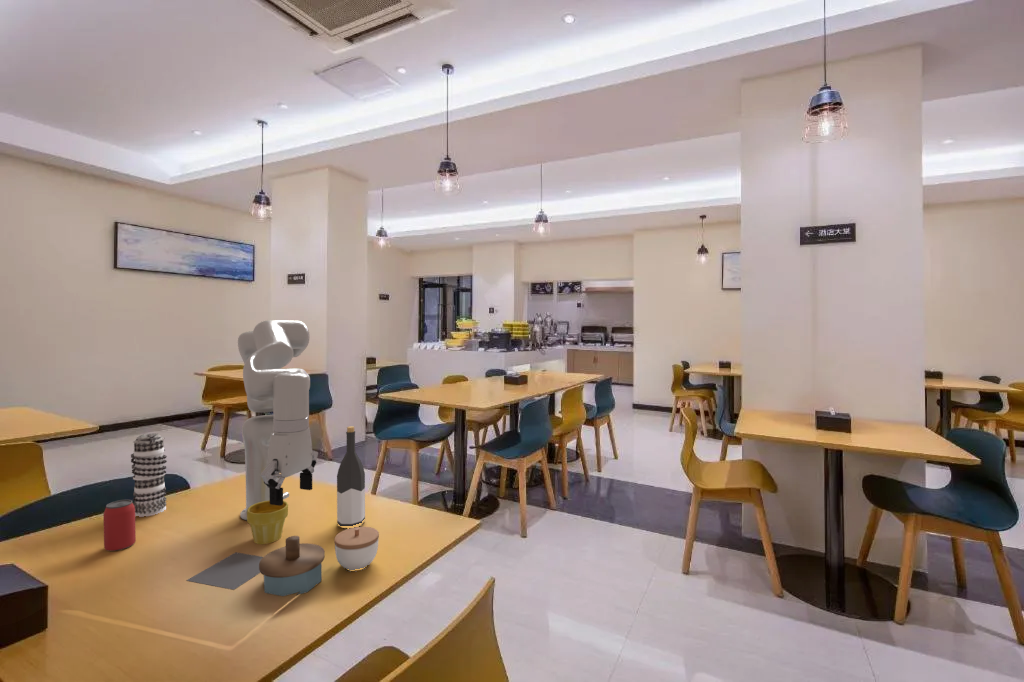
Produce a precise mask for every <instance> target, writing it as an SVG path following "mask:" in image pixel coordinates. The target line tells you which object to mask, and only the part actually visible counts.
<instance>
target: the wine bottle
mask: <svg viewBox="0 0 1024 682" xmlns="http://www.w3.org/2000/svg"><path fill="white" fill-rule="evenodd" d="M345 434H346V452H345V455H344V456H343V459H342V460H341V462H340V464H339V467H338V470H337V474H336V509H337V510H336V513H337V514H336V518H337V519H336V521H337V523H338V524H339V525H340V526H353V525H356V524H359V523H362V521H363V520H364V519H365V520H366V474H365V473H366V472H365V467H364V466H363V462H362V460H361V459H360V457H359V455H358V454H357V452H356V431H355V426H354V425H352V426H351V425H350V426H347V427H346V431H345ZM337 523H336V524H337ZM338 524H337V525H338Z"/></svg>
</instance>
